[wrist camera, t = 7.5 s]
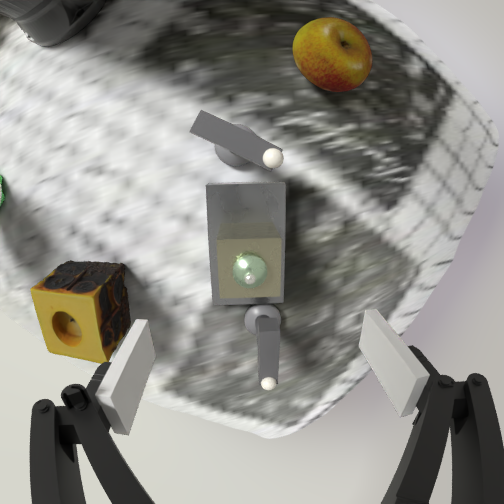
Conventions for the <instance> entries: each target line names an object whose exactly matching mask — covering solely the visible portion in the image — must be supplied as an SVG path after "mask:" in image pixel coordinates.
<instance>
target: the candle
mask: <svg viewBox="0 0 504 504" xmlns="http://www.w3.org/2000/svg"><path fill="white" fill-rule="evenodd" d="M124 270H125V268H124V264H122V263H120V264H117V263H109V262H90V261H88V262H86V261H84V262H74V261H71V260H70V261H67V262H65V263H64V264H61V265H59V266H58V267H57V268H56V269H54V270H53V272H52V273H50V274H49V275H48V276H47V277H45V278H44V279H43V281H40V282H39V283H38V284H37V285H35V286H33V287H32V288H31V295H32V299H33V302H34V306H35V310H36V313H37V317H38V320H39V323H40V327H41V330H42V334H43V337H44V340H45V343H46V346H47V349H48V351H49V352H50V353H54V354H58V355H64V356H69V357H73V358H78V359H83V360H88V361H92V362H96V363H101V364H102V363H104V362H109V360H110V358H111V355H112V353H113V352H114V350H115V349H116V348H117V345H118V343H119V341H120V340H121V339H122V338H123V337H124V335H125V334H126V331H127V328H129V327H130V324H131V321H130V314H129V303H128V294H127V292H126V291H127V288H126V287H125V286H124V275H125V271H124Z"/></svg>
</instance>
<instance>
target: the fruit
mask: <svg viewBox="0 0 504 504" xmlns="http://www.w3.org/2000/svg"><path fill="white" fill-rule="evenodd" d="M293 56H294V60H295V63H296V65H297V67H298V69H299V70H300V72H301V73H302V74H303V75H304V76H305V77H306V78H307V79H308V80H309V81H310V82H312V83H313V84H315V85H316V86H318V87H320V88H322V89H324V90H328V91H332V92H343V91H348V90H351V89H354V88H356V87H357V86H359V85H360V84H361V83H363V82H364V81H365V79H366V78H367V76H368V75H369V72H370V70H371V67H372V53H371V49H370V46H369V44H368V42H367V40H366V38H365V37H364V35H363V34H362V33H361V32H360V31H359V30H358V29H357V28H356V27H355V26H354V25H352V24H351V23H349V22H347V21H345V20H342V19H339V18H334V17H327V18H320V19H316V20H313V21H311V22H309V23H307V24H306V25H304V26H303V27H302V28H301V29H300V30H299V31H298V32H297V34H296V36H295V38H294V41H293Z"/></svg>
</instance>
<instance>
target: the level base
mask: <svg viewBox="0 0 504 504" xmlns="http://www.w3.org/2000/svg"><path fill="white" fill-rule="evenodd" d="M206 199H207V221H208V240H209V257H210V272H211V286H212V299H213V305H238V304H266V303H283V300H284V269H285V221H286V183H284V182H232V183H208V184H207V185H206Z"/></svg>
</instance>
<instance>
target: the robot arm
mask: <svg viewBox="0 0 504 504" xmlns="http://www.w3.org/2000/svg"><path fill="white" fill-rule="evenodd" d="M105 1H106V0H0V14H2V15H4V16H6V17H8V18H11V19H13V20H15V21H16V22H17V23H18V25H19V26H20V28H21V29H22V30H23V31H24V33H25V35H26V37H27V38H28V39H29V40H30V41H31V42H33V43H36V44H38V45H40V46H53V45H56V44H59V43H61V42H63V41H65V40H67V39H69V38H71V37H72V36H74V35H75V34H77V33H78V32H79V31H80V30H82V29H83V28H84V27H85V26H86V25H87V24H88V23H89V22H90V21H91V20H92V19H93V18H94V17H95V16H96V15H97V13H98V12H99V11H100V9H101V8H102V6H103V5H104V3H105ZM359 348H360V350H361V351H362V353H363V355H364V356H365V358H366V360H367V361H368V363H369V365H370V366H371V368H372V370H373V371H374V373H375V375H376V377H377V378H378V380H379V382H380V383H381V385H382V387H383V388H384V390H385V392H386V394H387V396H388V397H389V399H390V401H391V403H392V404H393V406H394V408H395V410H396V412H397V413H398V415H399V417H404V416H407V415H410V414H412V413H413V411H414V409H415V407H417V408H418V410H419V412H418V414H417V416H416V418H415V420H414V422H413V425H414V426H413V429H412V432H411V435H410V438H409V440H408V443H407V446H406V448H405V451H404V454H403V456H402V459H401V461H400V464H399V466H398V468H397V471H396V473H395V475H394V478H393V480H392V482H391V484H390V486H389V488H388V490H387V492H386V494H385V497H384V498H383V500H382V502H381V504H429V500H430V497H431V494H432V491H433V488H434V485H435V482H436V479H437V476H438V472H439V469H440V465H441V462H442V458H443V454H444V450H445V446H446V442H447V437H448V432H449V427H450V431H451V444H452V445H451V446H452V502H451V504H504V447H503V442H502V436H501V431H500V426H499V422H498V418H497V414H496V410H495V406H494V402H493V398H492V395H491V392H490V388H489V385H488V381H487V379H486V378H485V377H484V376H483V375H480V374H477V373H473V374H470V375H469V376H468V378H467V380H466V381H465V382H464V381H463V382H455V381H454V379H452V378H451V377H449V376H447V375H440V374H439V373H438V372H437V370H436V369H435V368H434V367H433V365H432V364H431V363H430V362H429V361H428V360H427V358H426V357H425V356H424V355H423V354H422V352H421V351H420V350H419V349H417V348H416V347H414V346H413V345H412V346H407V345H406V344H405V343H404V342H403V341H402V339H401V338H400V337H399V336H398V334H397V333H396V332H395V331H394V330H393V328H392V327H391V326H390V325H389V324H388V322H387V321H386V320H385V319H384V318H383V317H382V315H381V314H380V313H379V312H378V311H377V309H371V310H365V315H364V321H363V326H362V332H361V337H360V342H359ZM155 358H156V354H155V350H154V345H153V341H152V337H151V332H150V328H149V323H148V320H143V319H136V320H135V322H134V324H133V326H132V327H131V329H130V331H129V333H128V334H127V336H126V338H125V340H124V341H123V343H122V345H121V347H120V349H119V350H118V352H117V354H116V356H115V358H114V360H113V361H112V362H104V363H102V364H101V365H100V366H99V367H98V368H97V370H96V371H95V373H94V375H93V377H92V380H90V382H89V384H88V386H87V388H85V387H84V386H82V385H80V384H72V385H69V386H67V387H66V388H65V389H64V390H63V391H62V393H61V398H62V400H63V402H64V404H65V405H66V406H55V405H54V403H53V402H52V401H51V400H49V399H42V400H39V401H38V402H36V403H35V404H34V406H33V408H32V416H31V430H30V482H31V483H30V484H31V497H32V504H86V501H85V497H84V492H83V486H82V481H81V475H80V469H79V464H78V456H77V447H76V444H82V446H83V448H84V451H85V453H86V455H87V457H88V459H89V462H90V464H91V466H92V467H93V470H94V472H95V473H96V476H97V478H98V479H99V481H100V483H101V485H102V487H103V489H104V490H105V492H106V494H107V496H108V497H109V499H110V501H111V502H112V504H155V503H154V501H153V500H152V499H151V498H150V496H149V495H148V494H147V492H146V491H145V489H144V488H143V487H142V485H141V484H140V482H139V481H138V479H137V478H136V477H135V475H134V473H133V472H132V470H131V469H130V467H129V466H128V464H127V463H126V461H125V459H124V458H123V457H122V455H121V453H120V451H119V450H118V448H117V446H116V445H115V443H114V441H113V440H112V437H111V436H110V434H109V429H110V427H112V429H113V431H114V433H117V434H124V435H129V433H130V430H131V427H132V424H133V421H134V417H135V415H136V411H137V409H138V406H139V403H140V400H141V397H142V394H143V391H144V388H145V385H146V383H147V380H148V377H149V374H150V371H151V369H152V366H153V363H154V360H155Z"/></svg>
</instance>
